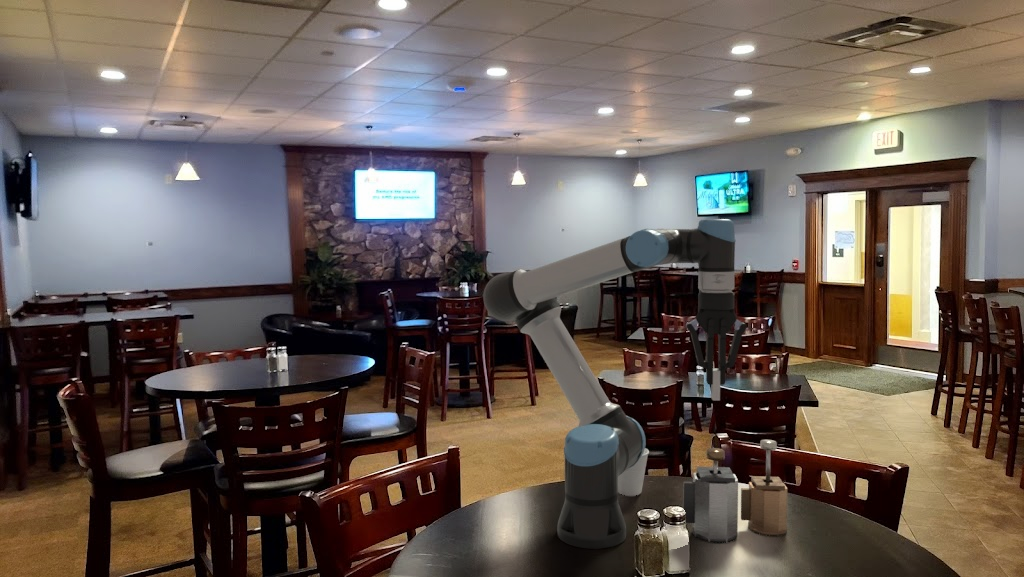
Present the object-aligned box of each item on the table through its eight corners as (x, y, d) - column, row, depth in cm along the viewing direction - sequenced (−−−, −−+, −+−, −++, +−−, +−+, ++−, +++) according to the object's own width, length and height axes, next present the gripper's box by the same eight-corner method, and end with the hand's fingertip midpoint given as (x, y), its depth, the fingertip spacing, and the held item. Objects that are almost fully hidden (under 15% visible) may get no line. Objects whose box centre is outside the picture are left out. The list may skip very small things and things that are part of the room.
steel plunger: (700, 513, 157) (701, 455, 156) (696, 501, 164) (697, 445, 163) (734, 514, 156) (734, 456, 155) (728, 502, 163) (729, 446, 162)
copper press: (781, 522, 166) (782, 475, 165) (790, 537, 158) (791, 488, 157) (737, 520, 167) (738, 474, 167) (744, 535, 159) (745, 486, 159)
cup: (609, 498, 183) (609, 455, 182) (610, 484, 192) (610, 444, 191) (649, 500, 181) (649, 457, 180) (648, 486, 191) (648, 445, 190)
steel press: (733, 526, 164) (734, 465, 163) (741, 544, 155) (741, 480, 154) (681, 524, 166) (681, 464, 165) (685, 542, 156) (686, 478, 155)
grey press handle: (757, 494, 159) (757, 445, 159) (751, 485, 165) (752, 437, 164) (784, 495, 159) (785, 446, 158) (778, 486, 164) (779, 438, 164)
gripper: (687, 292, 153) (686, 402, 155) (751, 292, 152) (749, 403, 153) (683, 289, 161) (683, 394, 163) (744, 289, 159) (743, 395, 161)
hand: (715, 399), depth 158 cm, fingers closed
